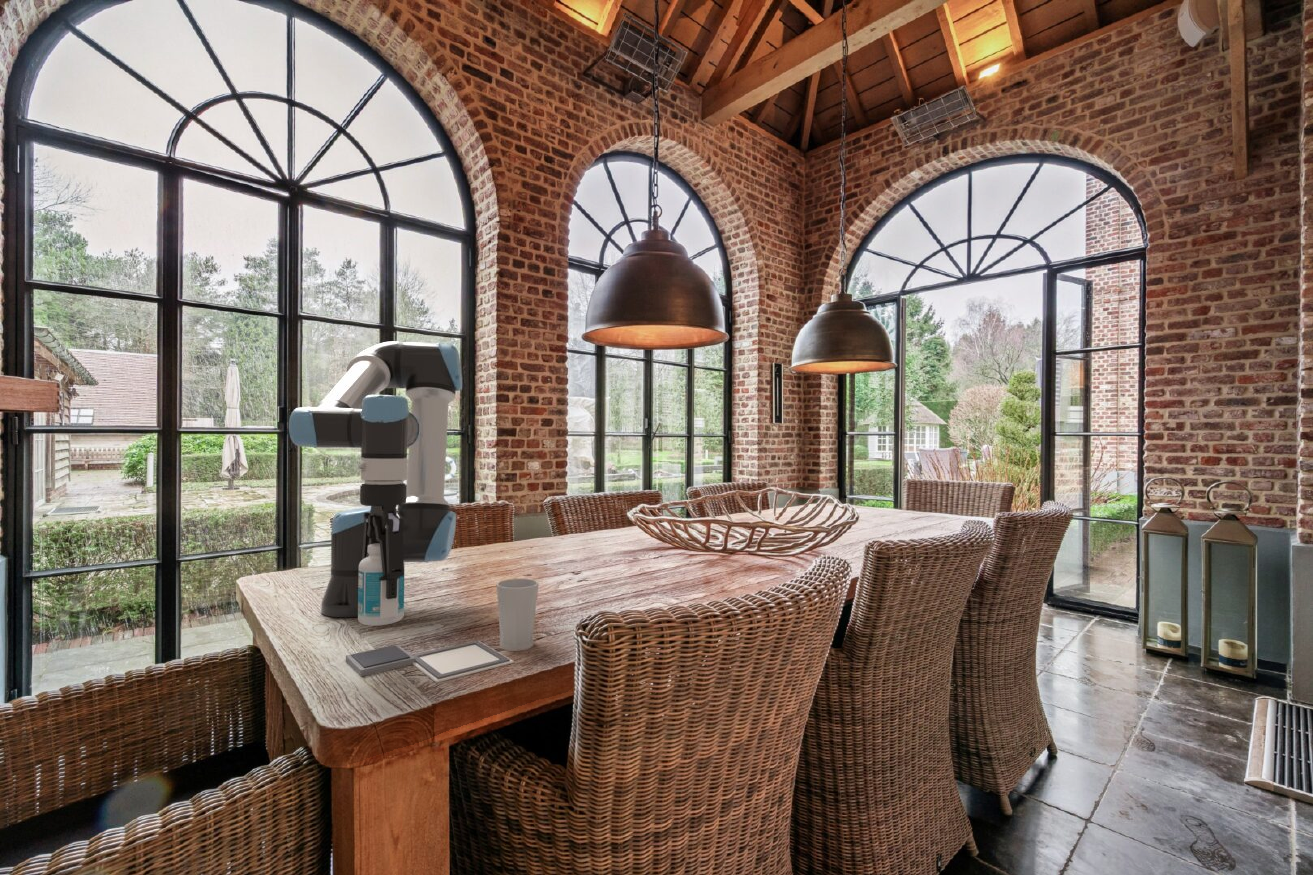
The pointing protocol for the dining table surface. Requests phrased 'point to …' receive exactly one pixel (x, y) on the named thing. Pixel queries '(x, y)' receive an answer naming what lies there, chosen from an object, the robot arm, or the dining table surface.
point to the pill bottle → (375, 590)
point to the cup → (517, 613)
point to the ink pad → (379, 660)
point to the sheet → (459, 661)
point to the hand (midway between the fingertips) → (381, 611)
